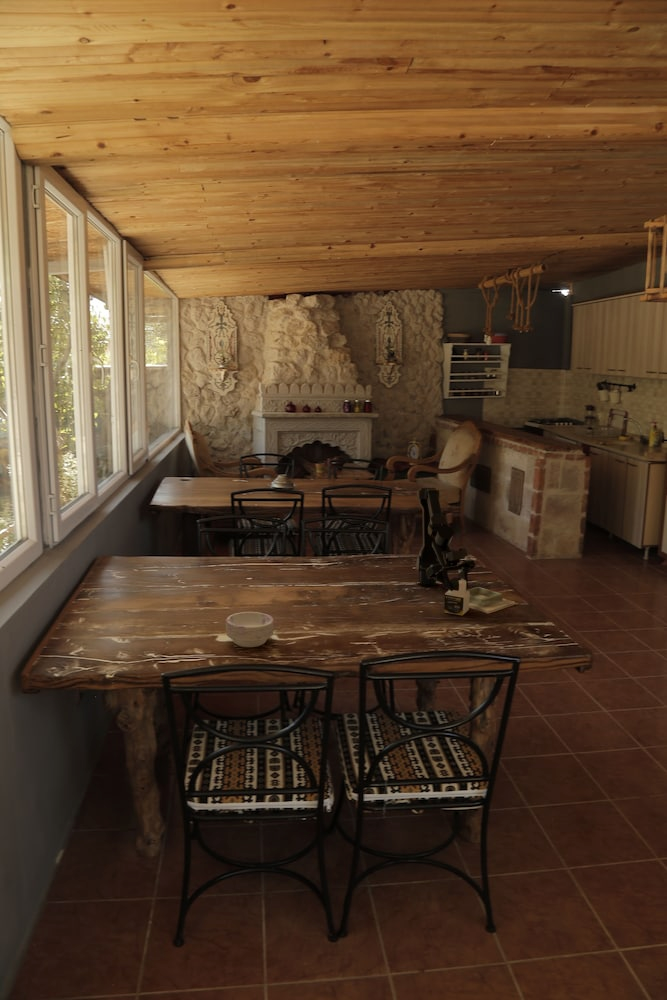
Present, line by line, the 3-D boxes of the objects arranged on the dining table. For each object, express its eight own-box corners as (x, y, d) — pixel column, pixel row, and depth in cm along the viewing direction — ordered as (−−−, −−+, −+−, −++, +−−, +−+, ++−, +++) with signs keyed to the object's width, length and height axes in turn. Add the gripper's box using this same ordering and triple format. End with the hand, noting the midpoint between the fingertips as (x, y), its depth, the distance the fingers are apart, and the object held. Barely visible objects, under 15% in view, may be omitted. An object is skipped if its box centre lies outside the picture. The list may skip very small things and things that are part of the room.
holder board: (445, 599, 288) (446, 590, 288) (472, 591, 299) (473, 583, 298) (488, 613, 274) (488, 604, 273) (515, 604, 284) (515, 595, 283)
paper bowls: (283, 641, 245) (283, 618, 243) (248, 655, 233) (248, 630, 232) (251, 630, 255) (251, 607, 253) (216, 642, 243) (215, 618, 242)
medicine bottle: (443, 612, 273) (445, 580, 271) (450, 606, 279) (451, 575, 277) (462, 615, 270) (464, 583, 267) (469, 610, 276) (470, 578, 274)
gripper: (431, 543, 269) (447, 581, 261) (474, 538, 277) (491, 575, 269) (418, 559, 278) (434, 596, 270) (461, 553, 285) (477, 590, 278)
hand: (459, 589), depth 272 cm, fingers closed on medicine bottle, 6 cm apart
